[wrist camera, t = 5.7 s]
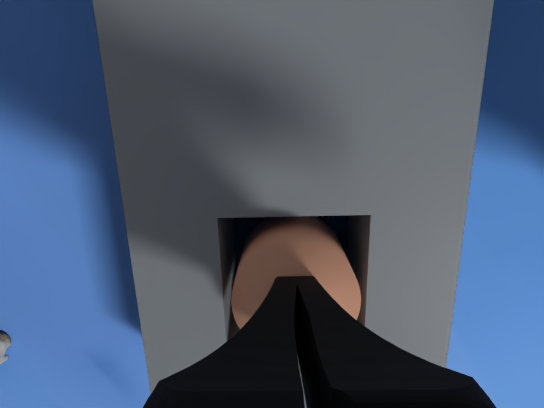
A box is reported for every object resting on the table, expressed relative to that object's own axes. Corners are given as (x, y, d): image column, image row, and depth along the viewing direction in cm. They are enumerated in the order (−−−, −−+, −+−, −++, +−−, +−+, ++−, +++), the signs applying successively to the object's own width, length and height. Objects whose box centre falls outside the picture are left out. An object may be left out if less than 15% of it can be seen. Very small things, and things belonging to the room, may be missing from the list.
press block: (466, -314, 11) (563, -526, 8) (405, 356, 18) (438, 422, 15) (104, -294, 12) (20, -489, 8) (180, 358, 19) (155, 424, 15)
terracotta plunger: (344, 209, 15) (363, 241, 11) (341, 303, 16) (358, 357, 12) (238, 212, 15) (227, 243, 11) (244, 304, 16) (234, 358, 12)
